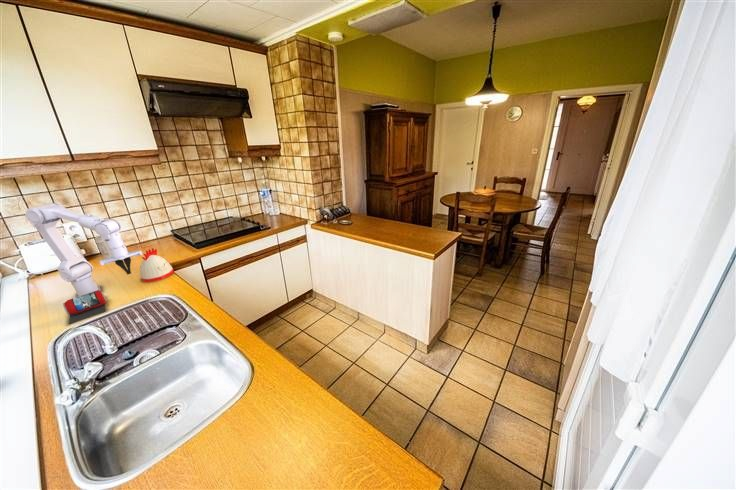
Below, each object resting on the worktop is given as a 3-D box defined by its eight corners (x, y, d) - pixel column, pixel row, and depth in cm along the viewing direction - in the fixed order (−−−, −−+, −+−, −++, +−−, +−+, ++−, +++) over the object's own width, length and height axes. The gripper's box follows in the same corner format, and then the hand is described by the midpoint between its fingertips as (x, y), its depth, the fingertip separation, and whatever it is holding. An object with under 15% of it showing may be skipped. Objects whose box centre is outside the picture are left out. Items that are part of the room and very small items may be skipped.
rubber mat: (71, 308, 118) (70, 307, 118) (104, 297, 125) (103, 296, 125) (69, 324, 107) (68, 323, 107) (105, 311, 114) (105, 310, 114)
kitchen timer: (179, 269, 148) (170, 245, 142) (157, 282, 136) (146, 256, 130) (158, 268, 151) (148, 244, 145) (135, 281, 138) (123, 255, 132)
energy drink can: (119, 257, 170) (109, 235, 164) (109, 261, 164) (98, 238, 159) (112, 256, 171) (102, 235, 165) (102, 260, 166) (91, 238, 160)
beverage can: (104, 298, 115) (65, 312, 107) (109, 305, 120) (71, 318, 112) (99, 286, 117) (60, 299, 109) (103, 293, 122) (66, 305, 114)
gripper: (94, 254, 111) (109, 282, 116) (138, 243, 120) (149, 270, 125) (94, 250, 116) (108, 277, 121) (136, 240, 125) (147, 265, 130)
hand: (129, 273), depth 124 cm, fingers closed
